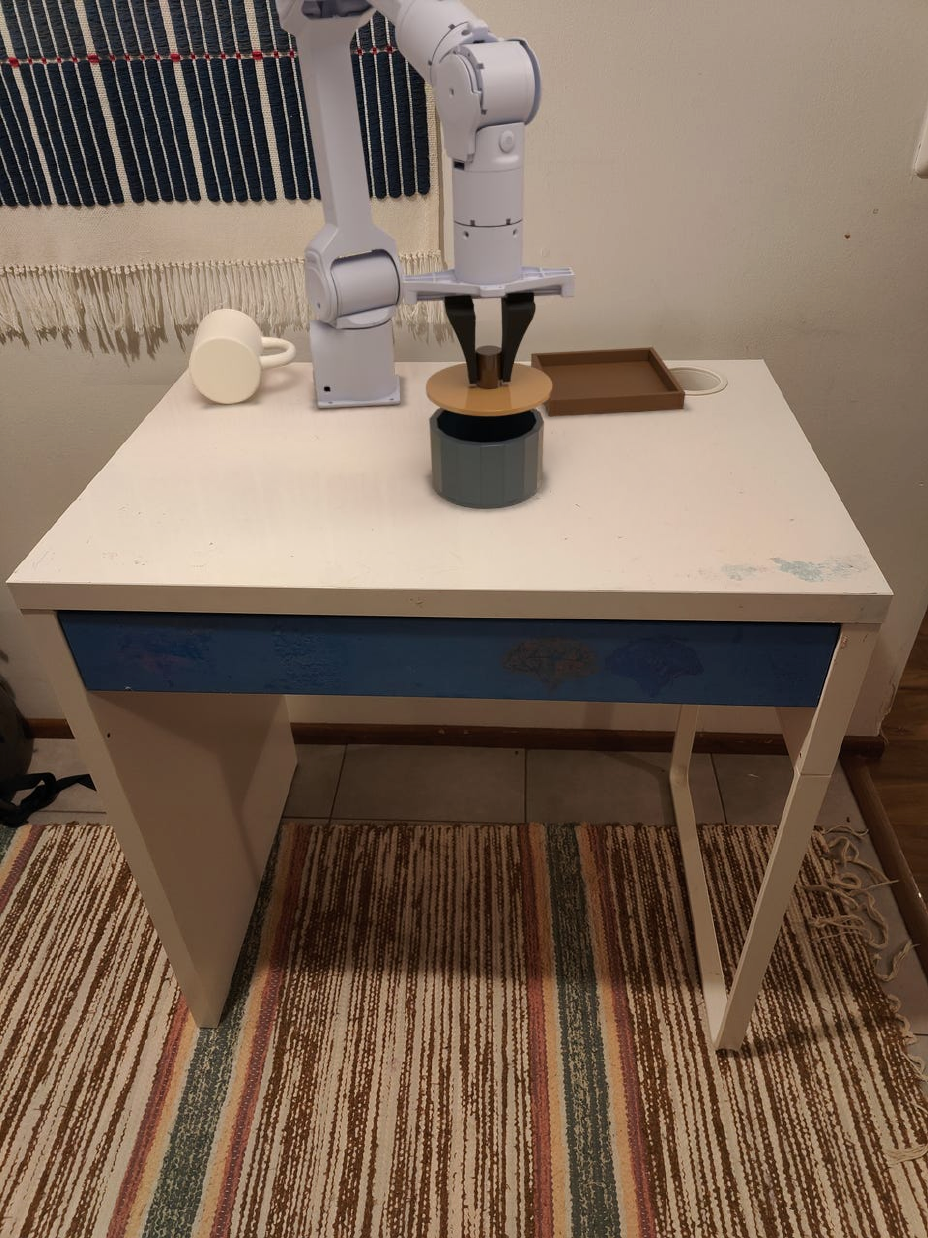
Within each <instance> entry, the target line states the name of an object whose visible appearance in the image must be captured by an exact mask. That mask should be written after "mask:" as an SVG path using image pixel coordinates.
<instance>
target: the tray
mask: <svg viewBox="0 0 928 1238" xmlns="http://www.w3.org/2000/svg"><path fill="white" fill-rule="evenodd" d="M530 355H531V356H530V366H531V367H533V368H536V369H538V370H540V371H542V372H544V373H545V374H546V375H547V376H548V377H549V378H550V379H551V381H552V394H551V396H550V397H549V399H548V400H547V401H545V402H544V403H543V404H544V406H545V410H546V412H547V414H548V417H559V416H561V417H562V416H577V415H578V416H579V415H595V414H597V415H598V414H612V413H613V414H614V413H630V412H631V413H633V412H649V411H666V410H667V411H668V410H669V411H670V410H684V405H685V399H686V391H685V390H684V389H683V387H682V386H681V385H680V383H679V382H678V380H677V378H675V376H674V375H673V373H672V372H671V371H670V369H669V368H668V366H667V365H666V363H665V362H664V360H663V359H662V358H661V357H660V355H659V353H658V352H657V351H656V349H655V348H654V346H650V347H649V346H648V347H647V346H646V347H631V348H629V347H628V348H612V349H611V348H610V349H593V350H591V349H589V350H571V351H554V352H552V351H551V352H535V353H534V352H533V353H531V354H530Z"/></svg>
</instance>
